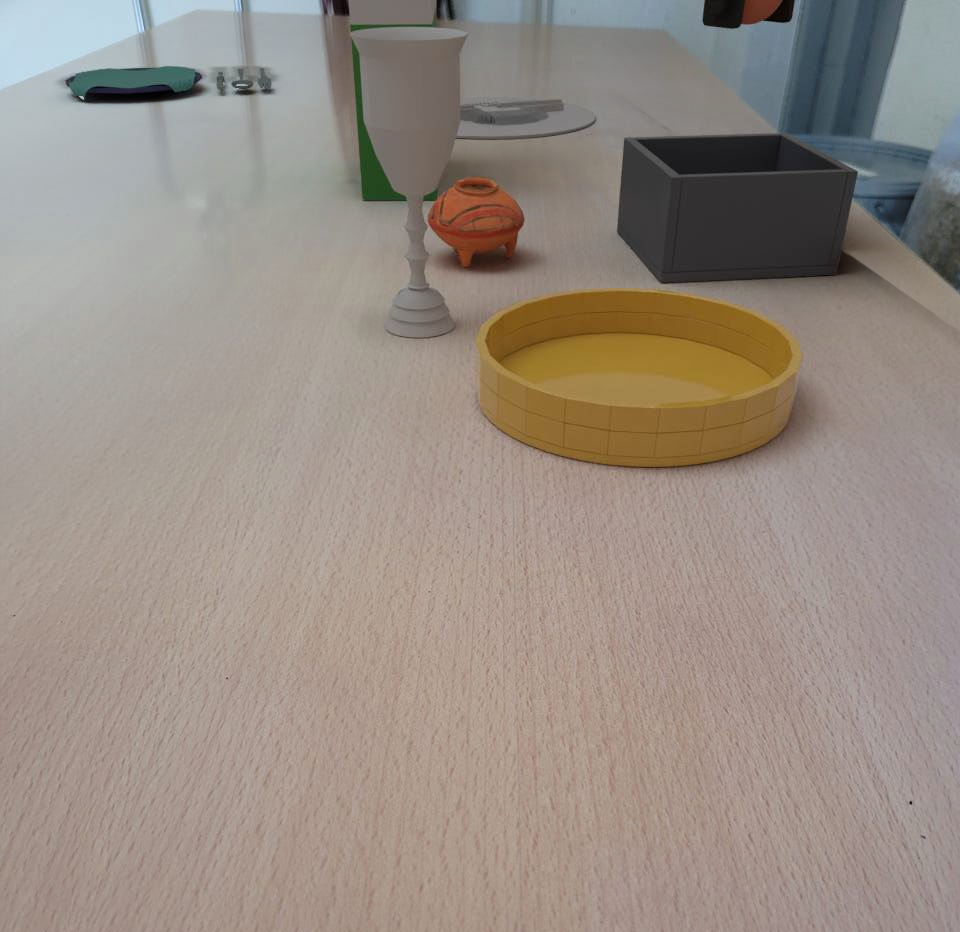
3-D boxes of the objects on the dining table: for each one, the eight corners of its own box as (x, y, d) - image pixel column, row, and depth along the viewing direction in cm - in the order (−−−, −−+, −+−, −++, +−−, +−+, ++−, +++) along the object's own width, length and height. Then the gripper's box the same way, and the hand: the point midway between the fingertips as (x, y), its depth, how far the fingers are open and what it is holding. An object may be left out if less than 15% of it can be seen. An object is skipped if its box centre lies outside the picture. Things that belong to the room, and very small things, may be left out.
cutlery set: (75, 84, 157) (71, 67, 155) (268, 77, 162) (266, 60, 160) (60, 106, 141) (55, 87, 140) (274, 98, 146) (272, 80, 145)
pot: (509, 236, 88) (517, 159, 83) (527, 285, 83) (536, 207, 78) (419, 238, 87) (422, 160, 82) (432, 287, 82) (435, 208, 77)
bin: (771, 225, 92) (786, 132, 87) (836, 275, 81) (858, 171, 76) (616, 232, 91) (624, 137, 86) (660, 283, 79) (671, 177, 74)
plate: (549, 94, 148) (549, 85, 147) (630, 130, 127) (631, 119, 126) (365, 106, 141) (364, 96, 140) (418, 145, 120) (417, 134, 119)
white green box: (375, 160, 114) (359, -102, 99) (440, 160, 114) (433, -102, 99) (362, 200, 100) (341, -99, 85) (436, 199, 100) (428, -100, 85)
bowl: (729, 332, 70) (737, 282, 68) (843, 455, 55) (858, 396, 53) (459, 345, 68) (459, 294, 66) (501, 478, 53) (502, 417, 51)
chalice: (352, 334, 70) (329, 37, 59) (392, 304, 75) (377, 25, 64) (449, 347, 68) (443, 42, 57) (483, 315, 73) (484, 29, 62)
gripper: (753, -342, 56) (708, 38, 67) (924, -313, 64) (859, 20, 75) (654, -324, 60) (627, 28, 71) (826, -300, 69) (779, 12, 80)
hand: (747, 20), depth 73 cm, fingers closed on toy ball, 4 cm apart
